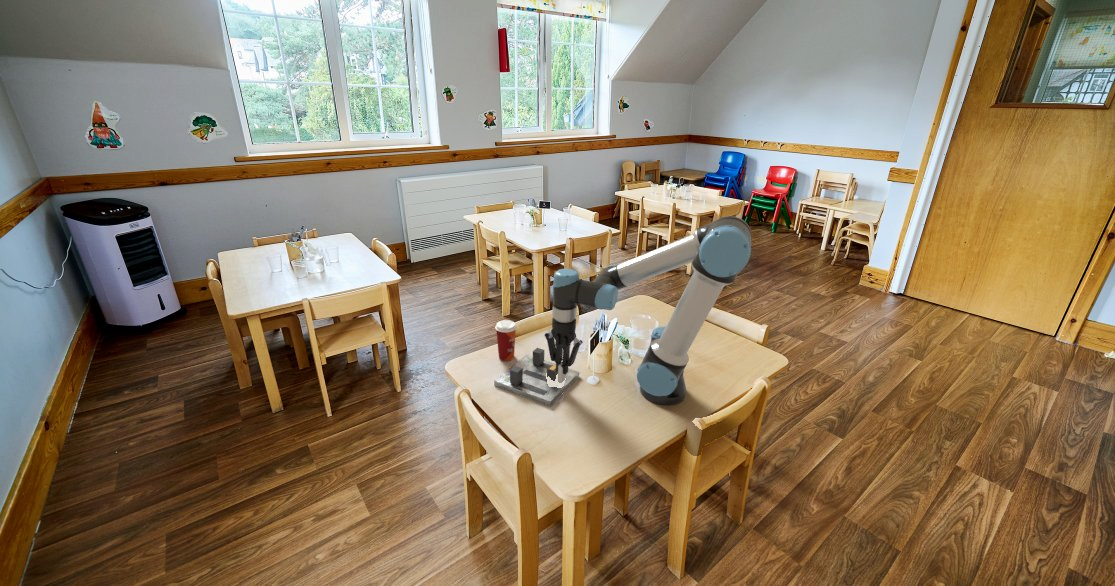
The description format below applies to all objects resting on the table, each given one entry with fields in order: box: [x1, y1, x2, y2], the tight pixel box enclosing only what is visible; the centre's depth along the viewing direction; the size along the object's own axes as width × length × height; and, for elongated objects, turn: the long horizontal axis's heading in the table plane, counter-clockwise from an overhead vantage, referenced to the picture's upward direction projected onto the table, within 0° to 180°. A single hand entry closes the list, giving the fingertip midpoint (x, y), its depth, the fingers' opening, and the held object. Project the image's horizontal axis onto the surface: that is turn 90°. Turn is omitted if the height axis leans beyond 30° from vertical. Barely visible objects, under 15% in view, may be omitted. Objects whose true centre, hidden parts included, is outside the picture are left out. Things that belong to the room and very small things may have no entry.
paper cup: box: [494, 319, 517, 362], centre depth 173 cm, size 8×8×14 cm
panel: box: [493, 353, 580, 408], centre depth 162 cm, size 22×20×2 cm
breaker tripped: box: [547, 365, 558, 381], centre depth 158 cm, size 3×3×5 cm
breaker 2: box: [532, 347, 545, 366], centre depth 168 cm, size 3×3×5 cm
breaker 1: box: [510, 366, 523, 385], centre depth 157 cm, size 3×3×5 cm
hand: (561, 380), depth 157 cm, fingers closed
